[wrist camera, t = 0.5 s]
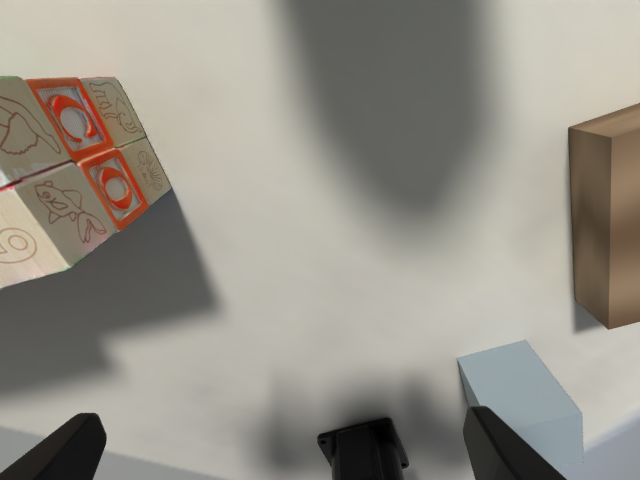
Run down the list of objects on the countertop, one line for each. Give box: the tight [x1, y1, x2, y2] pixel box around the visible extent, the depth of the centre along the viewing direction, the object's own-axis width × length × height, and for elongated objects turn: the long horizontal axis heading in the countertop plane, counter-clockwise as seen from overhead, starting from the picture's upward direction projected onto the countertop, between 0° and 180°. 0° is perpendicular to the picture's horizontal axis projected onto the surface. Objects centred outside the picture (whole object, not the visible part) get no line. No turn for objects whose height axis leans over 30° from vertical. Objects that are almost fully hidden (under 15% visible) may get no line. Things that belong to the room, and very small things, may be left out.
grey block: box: [457, 340, 584, 469], centre depth 24 cm, size 5×5×6 cm
